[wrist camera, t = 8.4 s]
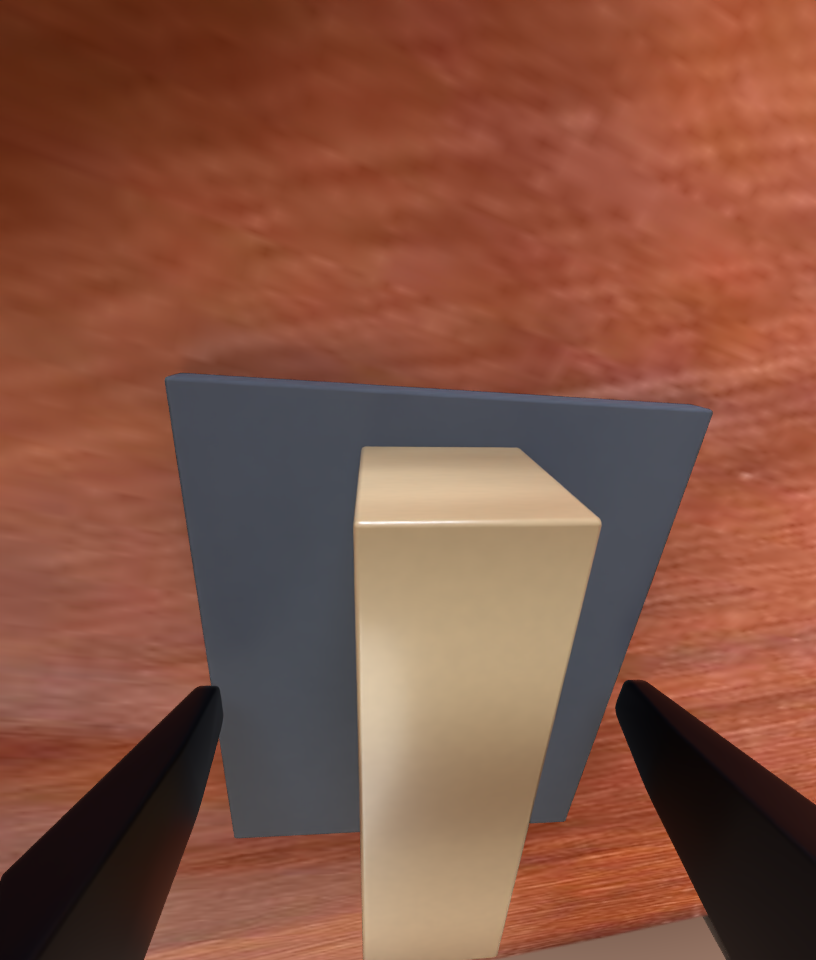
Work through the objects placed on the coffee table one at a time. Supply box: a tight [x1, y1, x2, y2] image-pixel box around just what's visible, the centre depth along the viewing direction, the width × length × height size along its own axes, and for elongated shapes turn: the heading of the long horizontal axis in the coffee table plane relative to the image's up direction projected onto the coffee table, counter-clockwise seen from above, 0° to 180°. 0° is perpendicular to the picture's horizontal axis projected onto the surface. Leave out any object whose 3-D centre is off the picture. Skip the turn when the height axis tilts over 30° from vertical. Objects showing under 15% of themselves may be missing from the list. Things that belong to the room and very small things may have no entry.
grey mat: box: [165, 373, 713, 838], centre depth 10 cm, size 13×10×1 cm
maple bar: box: [353, 446, 602, 960], centre depth 8 cm, size 11×3×3 cm, turn 178°
